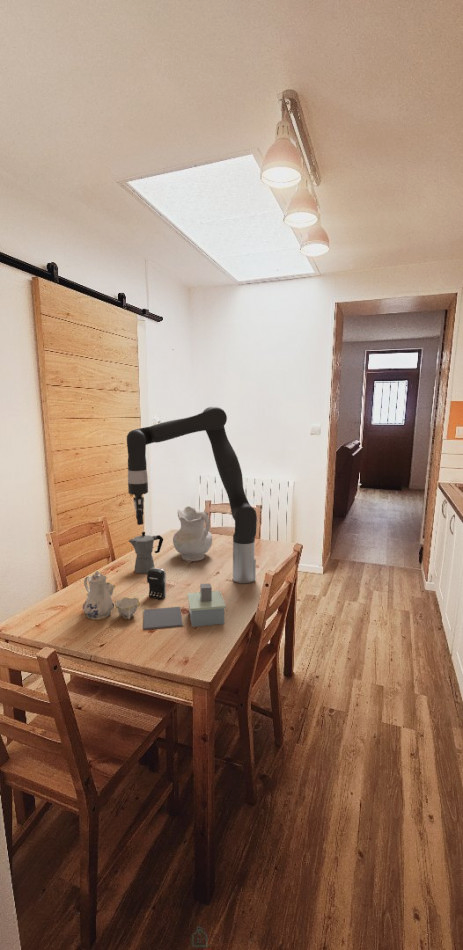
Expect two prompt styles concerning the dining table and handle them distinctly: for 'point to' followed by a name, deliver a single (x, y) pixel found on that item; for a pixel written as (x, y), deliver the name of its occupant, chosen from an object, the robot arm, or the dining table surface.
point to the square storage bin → (206, 617)
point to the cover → (205, 599)
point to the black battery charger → (157, 583)
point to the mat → (162, 618)
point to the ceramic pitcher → (192, 534)
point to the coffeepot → (145, 552)
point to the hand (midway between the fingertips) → (139, 521)
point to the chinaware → (105, 599)
